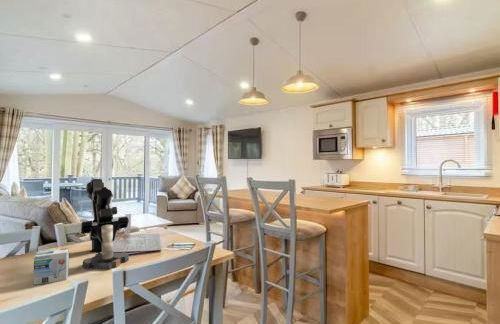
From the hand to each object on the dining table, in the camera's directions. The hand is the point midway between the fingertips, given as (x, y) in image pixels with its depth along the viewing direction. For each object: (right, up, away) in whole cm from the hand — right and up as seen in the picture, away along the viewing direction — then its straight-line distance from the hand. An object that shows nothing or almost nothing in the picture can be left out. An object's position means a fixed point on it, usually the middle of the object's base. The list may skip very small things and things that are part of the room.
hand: (107, 241), depth 123 cm
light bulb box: (-15, -11, -13) cm, 23 cm away
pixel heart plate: (-3, -11, +4) cm, 12 cm away
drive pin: (-1, -8, +1) cm, 8 cm away
